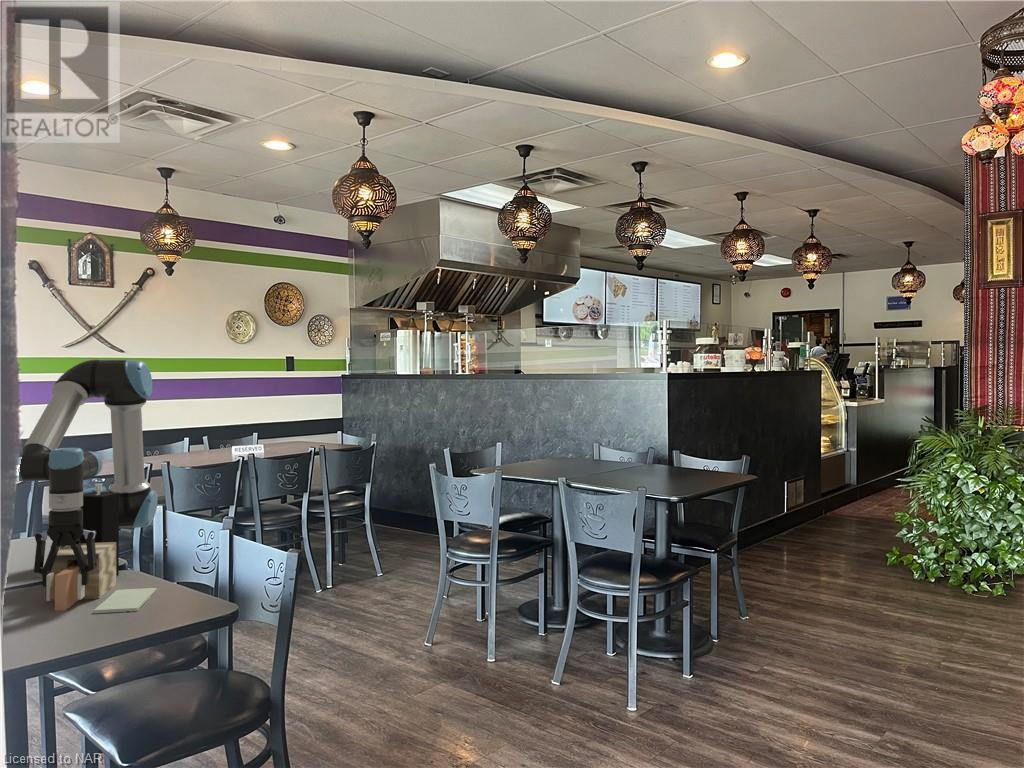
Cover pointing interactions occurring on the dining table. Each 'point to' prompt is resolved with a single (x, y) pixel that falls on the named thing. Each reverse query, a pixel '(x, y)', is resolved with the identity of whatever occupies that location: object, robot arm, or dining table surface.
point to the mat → (125, 600)
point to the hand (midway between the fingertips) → (65, 598)
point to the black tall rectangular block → (102, 517)
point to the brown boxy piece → (98, 577)
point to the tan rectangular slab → (66, 587)
